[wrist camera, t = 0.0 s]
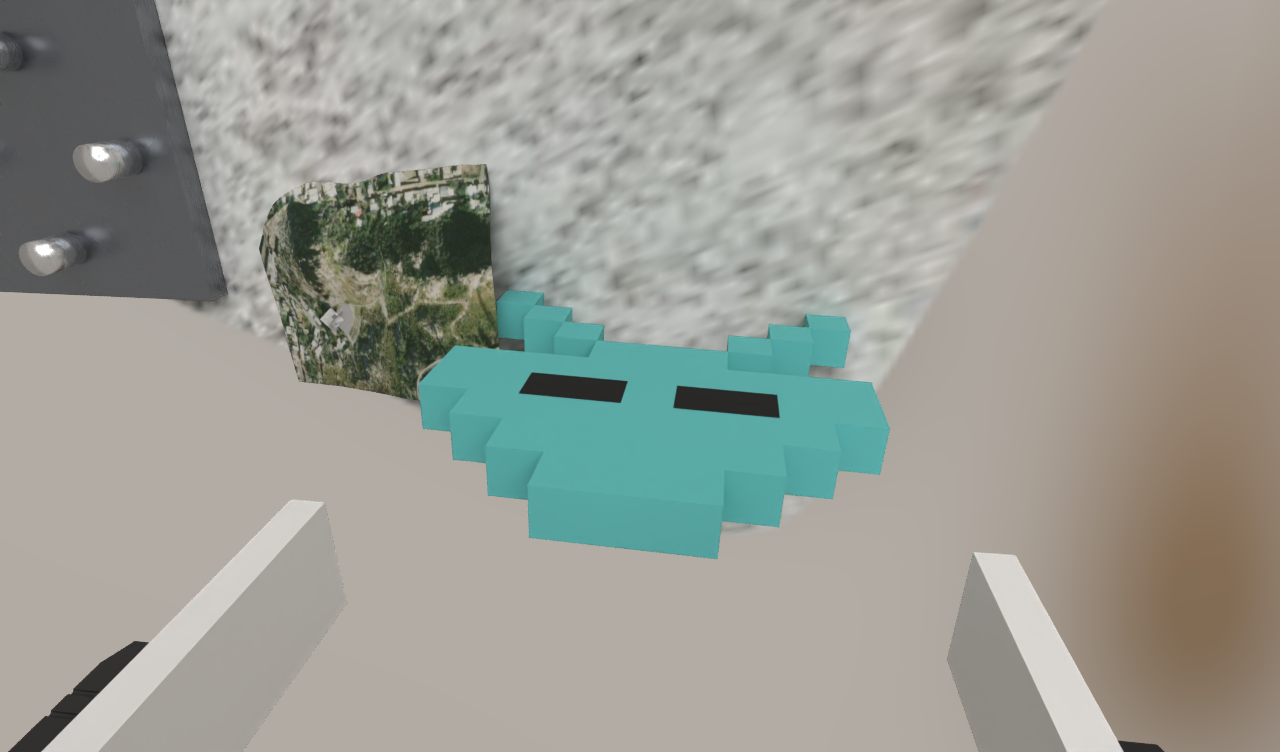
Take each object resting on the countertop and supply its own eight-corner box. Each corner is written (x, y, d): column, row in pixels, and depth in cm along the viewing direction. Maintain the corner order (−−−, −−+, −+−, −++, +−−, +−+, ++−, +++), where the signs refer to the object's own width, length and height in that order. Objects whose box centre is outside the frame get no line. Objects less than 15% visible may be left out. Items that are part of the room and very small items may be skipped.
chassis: (-126, -8, 40) (-211, -13, 36) (151, -10, 38) (90, -16, 35) (-10, 283, 47) (-72, 302, 44) (227, 293, 45) (183, 314, 42)
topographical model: (487, 123, 39) (464, 117, 37) (518, 390, 42) (498, 400, 40) (257, 153, 44) (224, 150, 42) (301, 392, 47) (272, 402, 45)
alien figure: (509, 324, 44) (349, 517, 26) (507, 290, 43) (341, 465, 25) (838, 352, 42) (915, 581, 24) (845, 317, 41) (930, 527, 23)
